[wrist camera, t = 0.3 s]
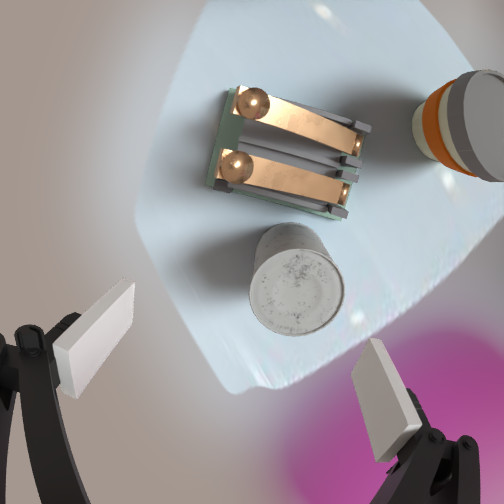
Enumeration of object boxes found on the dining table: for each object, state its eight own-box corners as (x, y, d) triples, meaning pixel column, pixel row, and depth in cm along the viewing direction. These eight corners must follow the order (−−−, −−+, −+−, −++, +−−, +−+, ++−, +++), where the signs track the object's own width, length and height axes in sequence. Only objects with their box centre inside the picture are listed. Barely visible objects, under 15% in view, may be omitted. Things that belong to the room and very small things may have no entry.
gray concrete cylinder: (338, 252, 40) (364, 288, 28) (293, 301, 43) (300, 351, 31) (285, 207, 39) (293, 227, 27) (240, 261, 41) (229, 301, 30)
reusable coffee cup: (475, 116, 33) (541, 110, 18) (455, 187, 36) (522, 204, 22) (412, 73, 32) (470, 44, 18) (389, 149, 36) (448, 147, 21)
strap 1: (236, 85, 23) (244, 83, 21) (357, 134, 30) (368, 136, 29) (227, 115, 24) (235, 114, 22) (351, 157, 31) (362, 160, 30)
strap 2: (219, 146, 24) (227, 147, 23) (345, 181, 32) (355, 184, 31) (212, 177, 25) (218, 180, 24) (338, 204, 33) (348, 208, 31)
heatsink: (230, 90, 35) (220, 72, 27) (364, 127, 35) (387, 120, 27) (206, 184, 39) (190, 190, 31) (338, 219, 39) (355, 234, 31)
